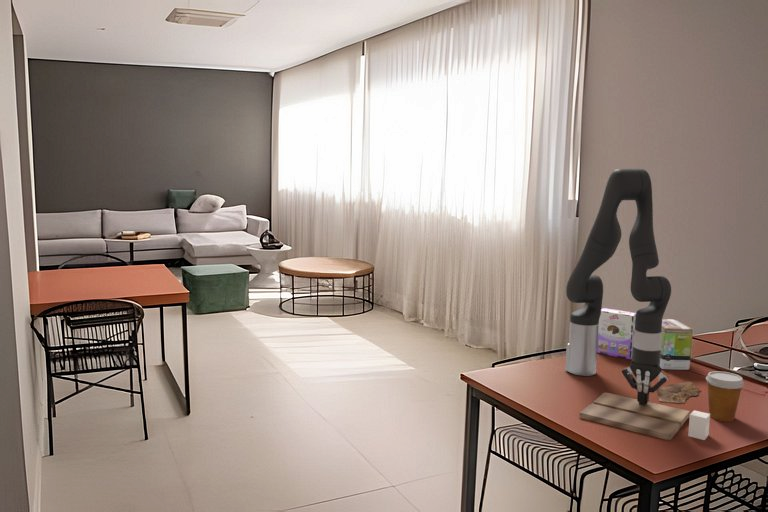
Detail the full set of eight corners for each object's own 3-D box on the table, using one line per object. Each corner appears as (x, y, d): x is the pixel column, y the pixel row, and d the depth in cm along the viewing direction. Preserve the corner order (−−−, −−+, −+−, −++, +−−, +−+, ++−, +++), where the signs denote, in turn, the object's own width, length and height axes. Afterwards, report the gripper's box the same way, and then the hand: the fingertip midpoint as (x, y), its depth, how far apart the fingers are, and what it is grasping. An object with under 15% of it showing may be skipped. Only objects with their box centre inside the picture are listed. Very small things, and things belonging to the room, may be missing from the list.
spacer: (688, 436, 174) (689, 414, 173) (692, 431, 177) (693, 410, 177) (704, 440, 172) (706, 418, 171) (708, 435, 175) (710, 413, 174)
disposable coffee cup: (739, 426, 181) (743, 384, 179) (700, 419, 186) (704, 377, 184) (741, 415, 189) (745, 374, 187) (705, 408, 194) (708, 368, 192)
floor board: (579, 418, 186) (579, 412, 186) (592, 407, 194) (592, 402, 193) (669, 440, 171) (670, 434, 171) (680, 428, 179) (680, 423, 179)
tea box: (690, 370, 229) (694, 328, 227) (661, 370, 230) (664, 328, 227) (672, 357, 244) (675, 318, 242) (645, 357, 244) (647, 317, 242)
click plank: (593, 406, 194) (593, 401, 194) (604, 397, 201) (604, 392, 201) (680, 427, 180) (681, 422, 179) (689, 416, 187) (689, 411, 186)
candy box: (637, 356, 245) (640, 313, 242) (630, 360, 240) (633, 315, 238) (601, 349, 254) (603, 307, 251) (594, 352, 250) (596, 309, 247)
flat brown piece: (679, 408, 195) (679, 404, 195) (642, 398, 202) (642, 395, 202) (711, 388, 213) (711, 385, 213) (676, 380, 220) (676, 377, 220)
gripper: (618, 344, 190) (615, 402, 193) (667, 353, 182) (663, 413, 185) (627, 338, 196) (623, 395, 199) (675, 347, 188) (670, 405, 191)
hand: (642, 404), depth 192 cm, fingers closed
